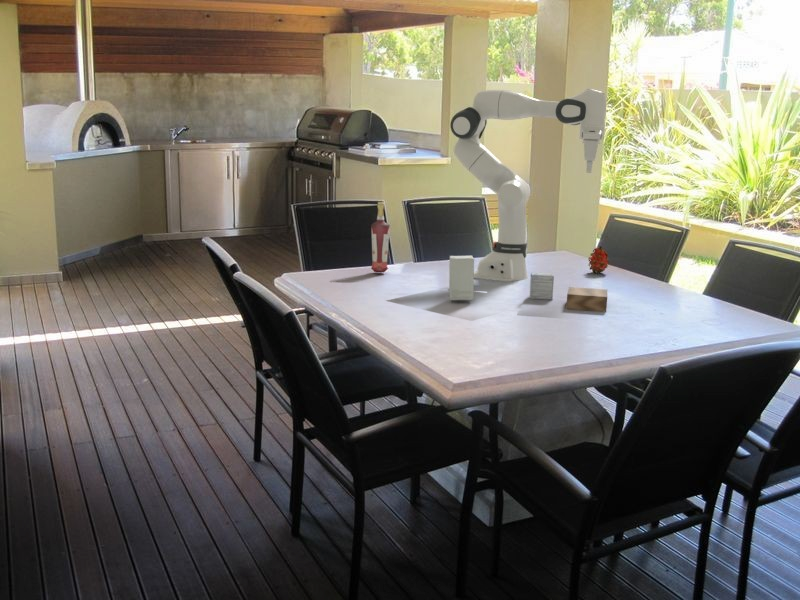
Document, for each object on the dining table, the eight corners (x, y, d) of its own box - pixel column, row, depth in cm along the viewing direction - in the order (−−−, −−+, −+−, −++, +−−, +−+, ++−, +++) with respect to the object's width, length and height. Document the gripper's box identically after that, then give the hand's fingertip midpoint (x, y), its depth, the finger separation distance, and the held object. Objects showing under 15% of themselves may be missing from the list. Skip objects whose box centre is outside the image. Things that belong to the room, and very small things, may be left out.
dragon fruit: (584, 272, 352) (586, 243, 350) (605, 272, 352) (607, 244, 350) (589, 276, 344) (591, 246, 341) (610, 276, 344) (612, 247, 341)
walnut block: (566, 308, 282) (567, 294, 281) (568, 301, 294) (568, 286, 293) (606, 311, 279) (607, 296, 278) (606, 303, 292) (607, 289, 290)
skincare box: (471, 296, 298) (473, 255, 294) (473, 300, 292) (475, 258, 289) (447, 296, 297) (449, 254, 294) (449, 300, 291) (451, 257, 288)
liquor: (388, 273, 339) (389, 203, 333) (370, 272, 339) (371, 202, 333) (388, 270, 346) (390, 201, 340) (370, 269, 346) (372, 201, 340)
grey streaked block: (551, 297, 300) (553, 273, 298) (552, 300, 295) (554, 275, 294) (529, 296, 301) (530, 272, 299) (529, 299, 296) (531, 274, 294)
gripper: (583, 133, 323) (580, 170, 326) (582, 134, 304) (579, 173, 307) (600, 134, 322) (597, 170, 325) (600, 135, 303) (597, 173, 306)
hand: (588, 172), depth 316 cm, fingers open, 8 cm apart
